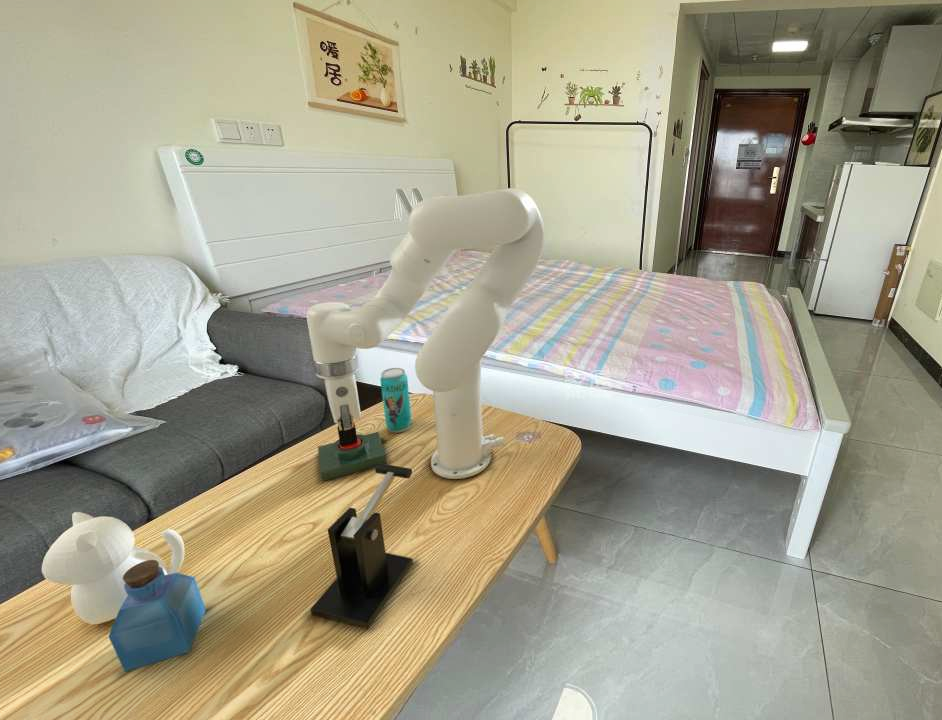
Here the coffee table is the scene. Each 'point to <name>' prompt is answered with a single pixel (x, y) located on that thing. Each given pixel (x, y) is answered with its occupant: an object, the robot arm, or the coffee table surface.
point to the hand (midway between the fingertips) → (348, 442)
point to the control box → (351, 457)
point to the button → (351, 445)
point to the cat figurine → (101, 563)
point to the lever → (374, 498)
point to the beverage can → (396, 399)
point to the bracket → (360, 574)
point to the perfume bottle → (156, 616)
